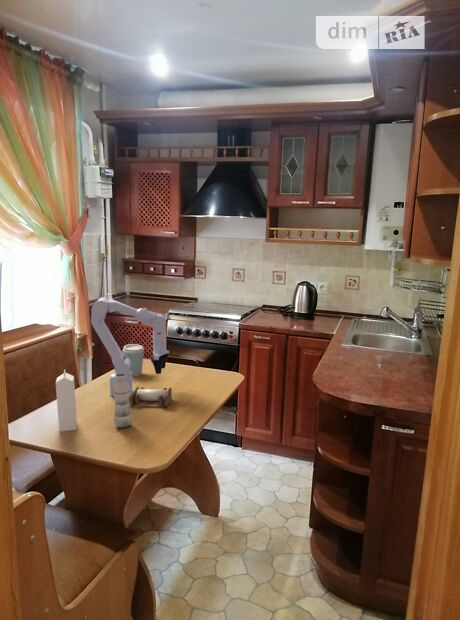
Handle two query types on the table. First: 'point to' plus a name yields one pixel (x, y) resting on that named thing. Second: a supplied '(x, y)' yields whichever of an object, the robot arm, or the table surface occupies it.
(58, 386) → the milk
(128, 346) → the disposable coffee cup
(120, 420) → the plastic bottle
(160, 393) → the cylinder
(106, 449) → the table surface
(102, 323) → the robot arm
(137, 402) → the holder
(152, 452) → the table surface
